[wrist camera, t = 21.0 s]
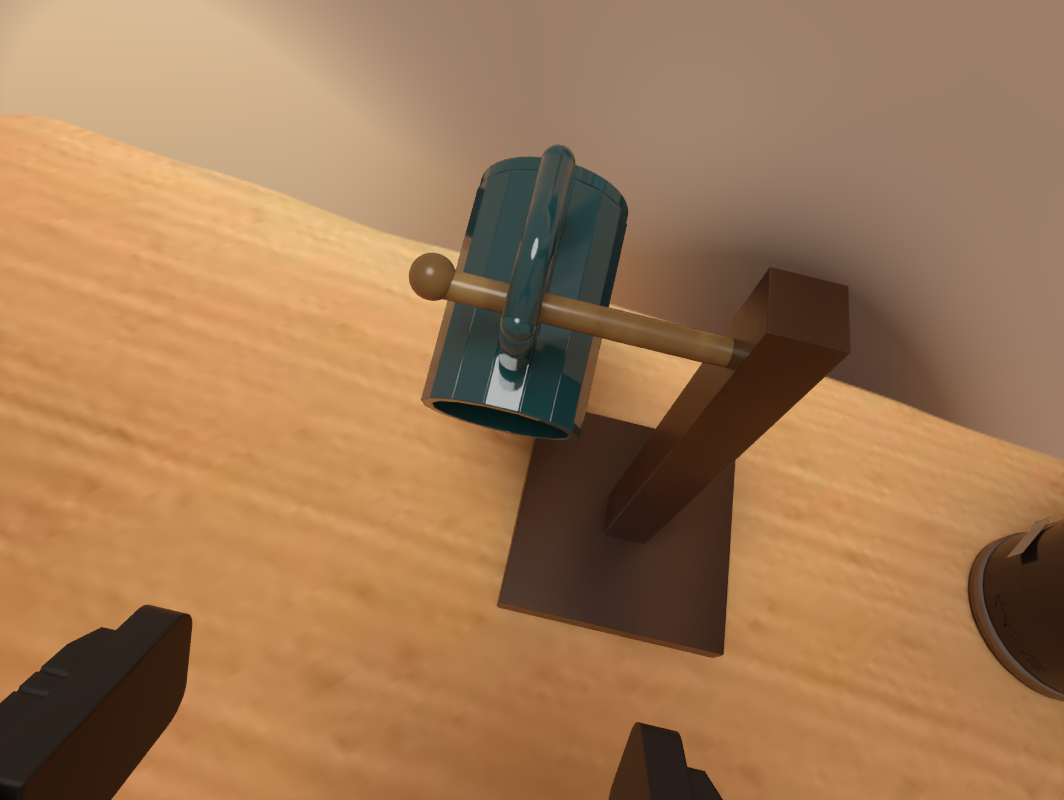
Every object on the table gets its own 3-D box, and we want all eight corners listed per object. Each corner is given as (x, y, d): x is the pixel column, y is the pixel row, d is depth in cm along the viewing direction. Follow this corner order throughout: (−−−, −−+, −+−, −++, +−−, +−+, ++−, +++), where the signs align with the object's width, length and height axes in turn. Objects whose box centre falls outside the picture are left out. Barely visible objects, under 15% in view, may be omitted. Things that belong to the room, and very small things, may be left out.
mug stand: (726, 457, 41) (986, 206, 22) (713, 657, 35) (1047, 563, 16) (449, 390, 41) (459, 74, 21) (391, 582, 35) (332, 391, 16)
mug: (613, 247, 32) (569, 448, 30) (482, 215, 32) (429, 414, 30) (675, 108, 21) (611, 409, 19) (477, 58, 21) (393, 357, 19)
